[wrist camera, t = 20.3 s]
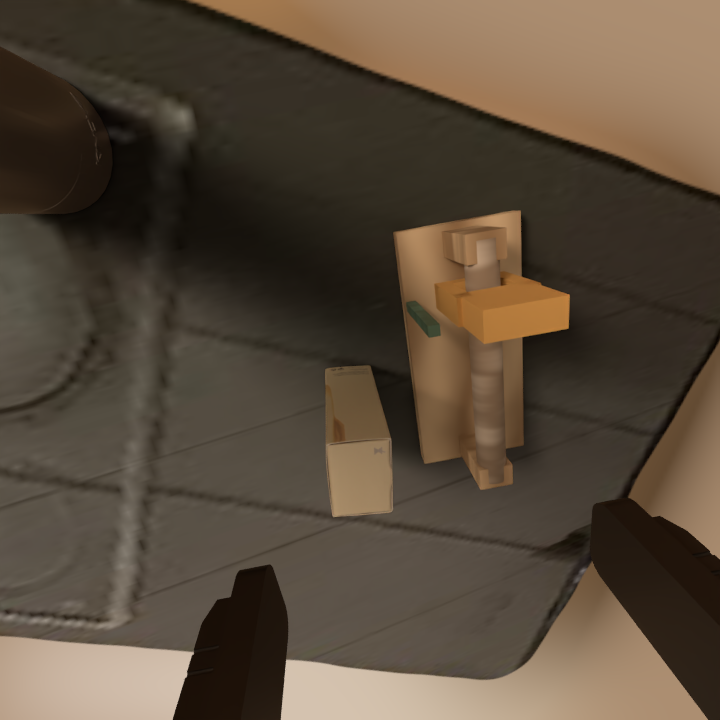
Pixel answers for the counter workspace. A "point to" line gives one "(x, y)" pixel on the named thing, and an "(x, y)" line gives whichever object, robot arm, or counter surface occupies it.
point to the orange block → (504, 308)
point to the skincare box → (357, 444)
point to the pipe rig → (462, 345)
